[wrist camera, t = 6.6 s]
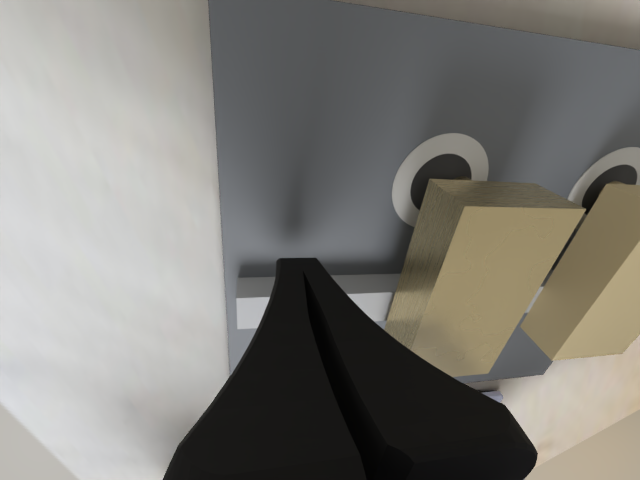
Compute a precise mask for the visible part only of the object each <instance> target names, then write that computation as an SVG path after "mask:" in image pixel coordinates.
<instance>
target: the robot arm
mask: <svg viewBox="0 0 640 480" xmlns="http://www.w3.org/2000/svg"><path fill="white" fill-rule="evenodd" d="M502 399H503V395H502V394H501V392H499V391H491V392H482V393H481V392H479V391H477V390H475V389H473V388H471V387H469V386H467V385H465V384H463V383H462V382H460V381H458V380H456V379H455V378H453V377H451V376H450V375H448V374H446V373H445V372H443V371H441V370H440V369H438V368H436V367H435V366H433V365H432V364H430V363H429V362H427V361H426V360H424V359H423V358H421V357H420V356H418V355H417V354H415V353H414V352H412V351H411V350H410V349H408V348H407V347H405V346H404V345H403V344H401V343H400V342H399V341H397V340H396V339H395V338H393V337H392V336H391V335H390V334H388V333H387V332H386V331H385V330H384V329H382V328H381V327H380V326H379V325H378V324H376V323H375V322H374V321H373V320H372V319H371V318H370V317H369V316H368V315H366V314H365V313H364V312H363V311H362V310H361V309H360V308H359V307H358V306H357V305H356V304H355V303H354V301H353V300H352V299H351V298H350V297H349V296H348V295H347V294H346V293H345V292H344V291H343V289H342V288H341V287H340V286H339V285H338V284H337V283H336V281H335V280H334V279H333V278H332V277H331V275H330V274H329V273H328V272H327V270H326V269H325V268H324V267H323V265H322V264H321V263H320V262H319V260H318V259H317V258H279V259H278V260H277V261H276V276H275V282H274V286H273V289H272V292H271V295H270V299H269V302H268V304H267V307H266V309H265V312H264V314H263V317H262V319H261V321H260V324H259V326H258V328H257V330H256V332H255V334H254V336H253V338H252V340H251V342H250V344H249V346H248V347H247V349H246V351H245V353H244V354H243V356H242V358H241V360H240V361H239V363H238V365H237V366H236V368H235V369H234V371H233V373H232V374H231V376H230V377H229V379H228V380H227V381H226V383H225V384H224V386H223V387H222V389H221V390H220V392H219V393H218V395H217V396H216V397H215V399H214V400H213V402H212V403H211V404H210V406H209V407H208V409H207V410H206V411H205V412H204V414H203V415H202V416H201V417H200V419H199V420H198V421H197V422H196V424H195V425H194V426H193V428H192V429H191V430H190V431H189V433H188V434H187V435H186V436H185V438H184V439H183V440H182V441H181V443H180V444H179V445H178V447H177V449H176V451H175V453H174V456H173V458H172V460H171V462H170V464H169V467H168V469H167V471H166V473H165V476H164V478H163V480H525V477H526V476H527V475H528V474H529V473H530V472H531V470H532V469H533V468H534V466H535V464H536V460H537V454H538V453H537V451H536V449H535V447H534V445H533V444H532V443H531V441H530V440H529V438H528V437H527V435H526V434H525V432H524V431H523V429H522V428H521V427H520V425H519V424H518V422H517V421H516V419H515V418H514V417H513V415H512V414H511V412H510V411H509V410H508V409H507V407H506V406H505V405H503V404H502V403H500V402H501V400H502Z"/></svg>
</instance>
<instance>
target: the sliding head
mask: <svg viewBox="0 0 640 480" xmlns="http://www.w3.org/2000/svg"><path fill="white" fill-rule="evenodd" d="M585 211H586V209H585V208H583V207H581V206H579V205H577V204H575V203H573V202H571V201H569V200H567V199H565V198H563V197H561V196H559V195H557V194H555V193H553V192H552V191H550V190H548V189H546V188H544V187H542V186H540V185H538V184H536V183H517V182H494V181H472V180H471V179H469V178H468V177H464V176H461V177H458V178H455V179H454V180H448V179H429V182H428V185H427V189H426V192H425V195H424V199H423V202H422V205H421V209H420V212H419V215H418V219H417V222H416V225H415V229H414V232H413V235H412V239H411V242H410V245H409V249H408V252H407V255H406V259H405V262H404V265H403V269H402V272H401V275H400V279H399V282H398V285H397V289H396V292H395V295H394V299H393V302H392V305H391V309H390V312H389V315H388V319H387V322H386V325H385V329H384V330H385V331H386V332H387V333H388V334H390V335H391V336H392V337H393V338H395V339H396V340H397V341H399V342H400V343H401V344H403V345H404V346H405V347H407V348H408V349H410V350H411V351H412V352H414V353H415V354H417V355H418V356H420V357H421V358H423V359H424V360H426V361H427V362H429V363H430V364H432V365H433V366H435V367H436V368H438V369H440V370H441V371H443V372H445V373H446V374H448V375H450V376H451V377H459V376H468V375H478V374H488V373H489V371H490V370H491V368H492V366H493V365H494V363H495V361H496V360H497V358H498V356H499V355H500V353H501V351H502V350H503V348H504V346H505V345H506V343H507V341H508V339H509V338H510V336H511V334H512V333H513V331H514V329H515V328H516V326H517V324H518V323H519V321H520V319H521V318H522V316H523V314H524V313H525V311H526V309H527V308H528V306H529V304H530V303H531V301H532V299H533V298H534V296H535V294H536V293H537V291H538V289H539V288H540V286H541V284H542V283H543V281H544V279H545V278H546V276H547V274H548V273H549V271H550V269H551V268H552V266H553V264H554V263H555V261H556V259H557V258H558V256H559V254H560V252H561V251H562V249H563V247H564V246H565V244H566V242H567V241H568V239H569V237H570V236H571V234H572V232H573V231H574V229H575V227H576V226H577V224H578V222H579V221H580V219H581V217H582V216H583V214H584V212H585Z"/></svg>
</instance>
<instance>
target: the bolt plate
mask: <svg viewBox="0 0 640 480" xmlns="http://www.w3.org/2000/svg"><path fill="white" fill-rule="evenodd" d="M208 4H209V21H210V38H211V55H212V73H213V90H214V107H215V124H216V141H217V159H218V176H219V193H220V210H221V228H222V245H223V262H224V279H225V297H226V314H227V331H228V348H229V365H230V376H231V374H232V373H233V371H234V369H235V368H236V366H237V365H238V363H239V361H240V360H241V358H242V356H243V354H244V353H245V351H246V349H247V347H248V346H249V344H250V342H251V340H252V338H253V336H254V334H255V332H256V330H257V328H258V326H259V324H260V321H261V319H262V317H263V314H264V312H265V309H266V307H267V304H268V302H269V299H270V295H271V292H272V289H273V286H274V282H275V276H276V261H277V260H278V259H279V258H317V259H318V260H319V262H320V263H321V264H322V265H323V267H324V268H325V269H326V270H327V272H328V273H329V274H330V275H331V277H332V278H333V279H334V280H335V281H336V283H337V284H338V285H339V286H340V287H341V288H342V289H343V291H344V292H345V293H346V294H347V295H348V296H349V297H350V298H351V299H352V300H353V301H354V303H355V304H356V305H357V306H358V307H359V308H360V309H361V310H362V311H363V312H364V313H365V314H366V315H368V316H369V317H370V318H371V319H372V320H373V321H374V322H375V323H376V324H378V325H379V326H380V327H381V328H382V329H385V325H386V322H387V319H388V315H389V312H390V309H391V305H392V302H393V299H394V295H395V292H396V289H397V285H398V282H399V279H400V275H401V272H402V269H403V265H404V262H405V259H406V255H407V252H408V249H409V245H410V242H411V239H412V235H413V232H414V229H415V225H416V222H417V219H418V215H419V212H420V209H421V205H422V202H423V199H424V195H425V192H426V189H427V185H428V182H429V179H448V180H454V179H455V178H458V177H461V176H464V177H468V178H469V179H471V180H472V181H494V182H517V183H536V184H538V185H540V186H542V187H544V188H546V189H548V190H550V191H552V192H553V193H555V194H557V195H559V196H561V197H563V198H565V199H567V200H569V201H571V202H573V203H575V204H577V205H579V206H581V207H583V208H585V209H586V211H585V212H584V214H583V216H582V217H581V219H580V221H579V222H578V224H577V226H576V227H575V229H574V231H573V232H572V234H571V236H570V237H569V239H568V241H567V242H566V244H565V246H564V247H563V249H562V251H561V252H560V254H559V256H558V258H557V259H556V261H555V263H554V264H553V266H552V268H551V269H550V271H549V273H548V274H547V276H546V278H545V279H544V281H543V283H542V284H541V286H540V288H539V289H538V291H537V293H536V294H535V296H534V298H533V299H532V301H531V303H530V304H529V306H528V308H527V309H526V311H525V313H524V314H523V316H522V318H521V319H520V321H519V323H518V324H517V326H516V328H515V329H514V331H513V333H512V334H511V336H510V338H509V339H508V341H507V343H506V345H505V346H504V348H503V350H502V351H501V353H500V355H499V356H498V358H497V360H496V361H495V363H494V365H493V366H492V368H491V370H490V371H489V373H488V374H478V375H468V376H459V377H453V378H455V379H456V380H458V381H460V382H462V383H470V382H479V381H489V380H498V379H507V378H517V377H526V376H535V375H543V374H544V373H545V371H546V370H547V369H548V367H549V366H550V365H551V363H552V362H553V360H563V359H574V358H584V357H594V356H605V355H615V354H622V353H623V352H624V351H625V350H626V349H627V348H628V347H629V346H630V345H631V343H632V342H633V341H634V340H635V339H636V338H637V337H638V336H639V334H640V50H637V49H631V48H625V47H618V46H612V45H606V44H600V43H593V42H587V41H581V40H575V39H569V38H562V37H556V36H550V35H544V34H538V33H531V32H525V31H519V30H513V29H507V28H500V27H494V26H488V25H482V24H475V23H469V22H463V21H457V20H451V19H444V18H438V17H432V16H426V15H420V14H413V13H407V12H401V11H395V10H388V9H382V8H376V7H370V6H364V5H357V4H351V3H345V2H339V1H333V0H208Z"/></svg>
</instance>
